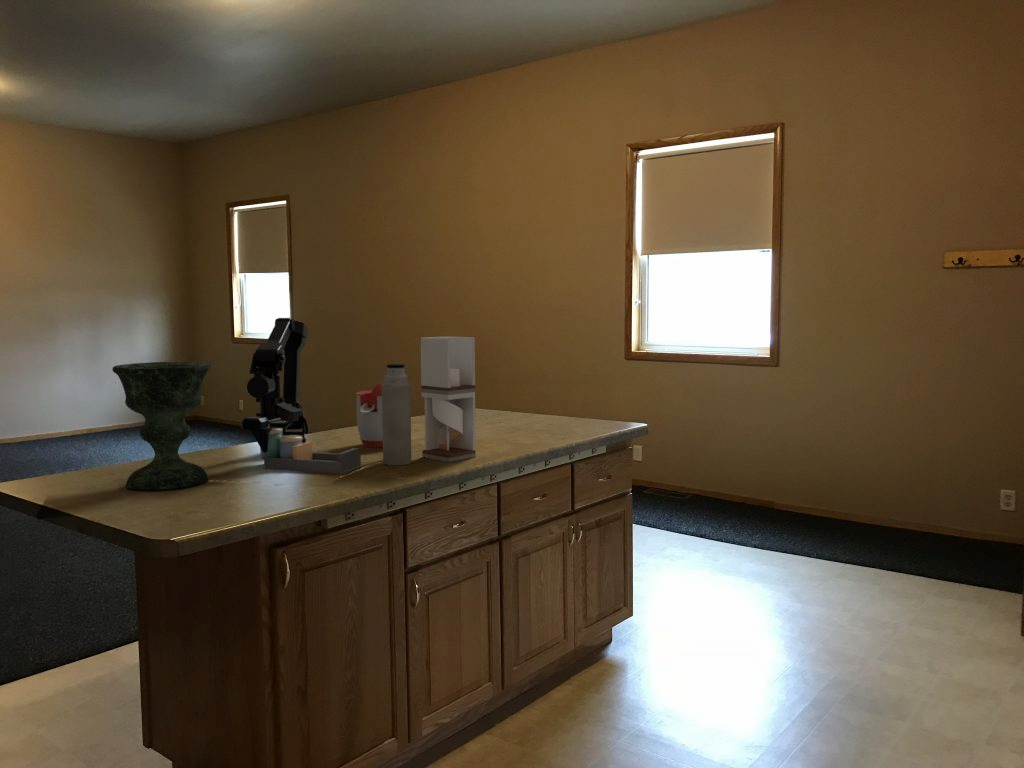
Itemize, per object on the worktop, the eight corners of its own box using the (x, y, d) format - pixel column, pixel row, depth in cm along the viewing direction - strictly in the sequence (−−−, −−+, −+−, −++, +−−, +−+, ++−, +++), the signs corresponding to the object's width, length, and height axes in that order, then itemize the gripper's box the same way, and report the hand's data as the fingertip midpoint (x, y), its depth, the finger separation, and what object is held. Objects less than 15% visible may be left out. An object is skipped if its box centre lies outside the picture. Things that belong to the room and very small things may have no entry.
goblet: (119, 478, 213) (114, 363, 210) (212, 471, 222) (208, 360, 219) (116, 497, 193) (109, 369, 190) (218, 488, 202) (213, 366, 199)
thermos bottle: (391, 459, 239) (389, 362, 236) (416, 460, 236) (414, 363, 233) (377, 464, 231) (376, 364, 229) (403, 466, 229) (402, 365, 226)
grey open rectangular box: (264, 471, 222) (263, 450, 221) (287, 464, 232) (286, 443, 232) (341, 476, 215) (340, 454, 214) (360, 468, 226) (360, 447, 225)
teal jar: (255, 459, 225) (254, 430, 224) (268, 455, 231) (267, 427, 230) (275, 460, 223) (274, 430, 222) (288, 456, 229) (287, 427, 228)
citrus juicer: (343, 448, 256) (342, 384, 254) (373, 440, 272) (372, 379, 271) (387, 452, 251) (386, 386, 249) (415, 442, 267) (414, 381, 265)
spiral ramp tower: (422, 457, 242) (420, 337, 239) (449, 452, 250) (447, 336, 246) (448, 462, 234) (447, 338, 231) (475, 456, 242) (474, 337, 239)
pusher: (293, 468, 221) (292, 446, 220) (308, 463, 228) (308, 441, 228) (297, 468, 220) (296, 446, 220) (312, 463, 228) (312, 441, 227)
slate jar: (275, 467, 223) (274, 438, 223) (287, 463, 229) (286, 434, 228) (295, 468, 222) (294, 439, 221) (307, 464, 228) (306, 435, 227)
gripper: (276, 398, 214) (277, 458, 216) (314, 391, 232) (315, 446, 233) (239, 397, 217) (241, 455, 219) (279, 390, 235) (281, 444, 237)
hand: (271, 450), depth 227 cm, fingers closed on teal jar, 6 cm apart
